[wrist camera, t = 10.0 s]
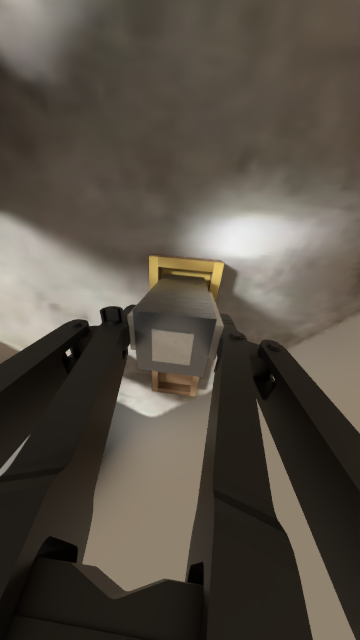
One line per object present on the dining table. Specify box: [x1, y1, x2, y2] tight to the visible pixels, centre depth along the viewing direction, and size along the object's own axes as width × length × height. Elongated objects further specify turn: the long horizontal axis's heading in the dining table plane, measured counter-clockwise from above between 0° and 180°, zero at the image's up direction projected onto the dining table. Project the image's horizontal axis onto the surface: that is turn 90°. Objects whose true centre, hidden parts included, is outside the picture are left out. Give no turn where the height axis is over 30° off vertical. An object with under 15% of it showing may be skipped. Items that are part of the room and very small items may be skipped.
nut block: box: [132, 273, 217, 377], centre depth 13 cm, size 4×4×10 cm
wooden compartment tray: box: [149, 254, 224, 397], centre depth 22 cm, size 23×8×3 cm, turn 175°
